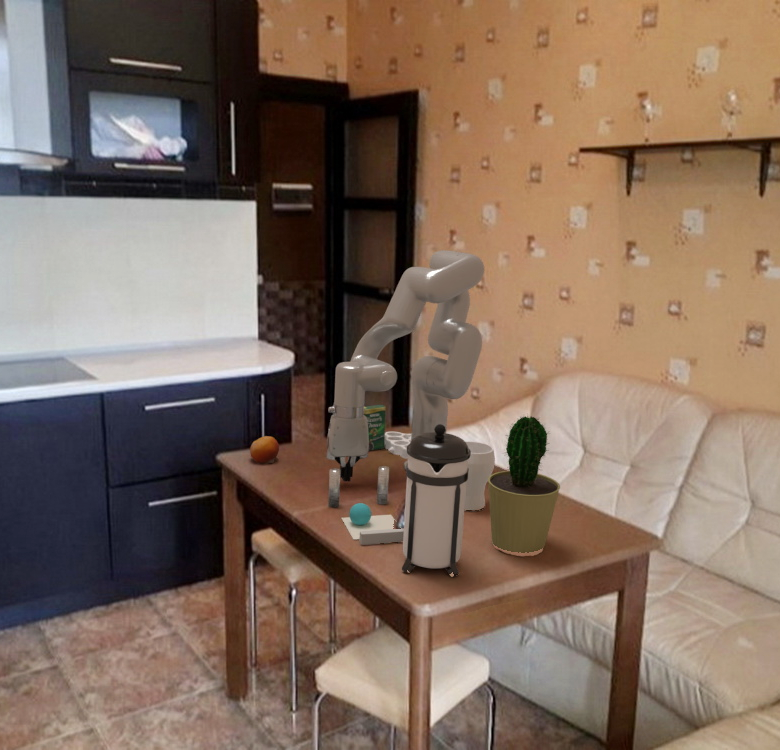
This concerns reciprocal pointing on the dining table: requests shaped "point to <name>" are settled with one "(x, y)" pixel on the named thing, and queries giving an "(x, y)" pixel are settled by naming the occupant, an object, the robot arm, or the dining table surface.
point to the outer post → (334, 487)
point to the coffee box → (376, 426)
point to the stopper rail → (381, 536)
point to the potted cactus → (522, 491)
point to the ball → (360, 514)
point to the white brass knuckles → (397, 443)
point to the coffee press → (435, 500)
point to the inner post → (382, 485)
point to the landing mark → (369, 525)
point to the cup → (478, 474)
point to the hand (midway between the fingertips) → (346, 479)
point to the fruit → (264, 450)
